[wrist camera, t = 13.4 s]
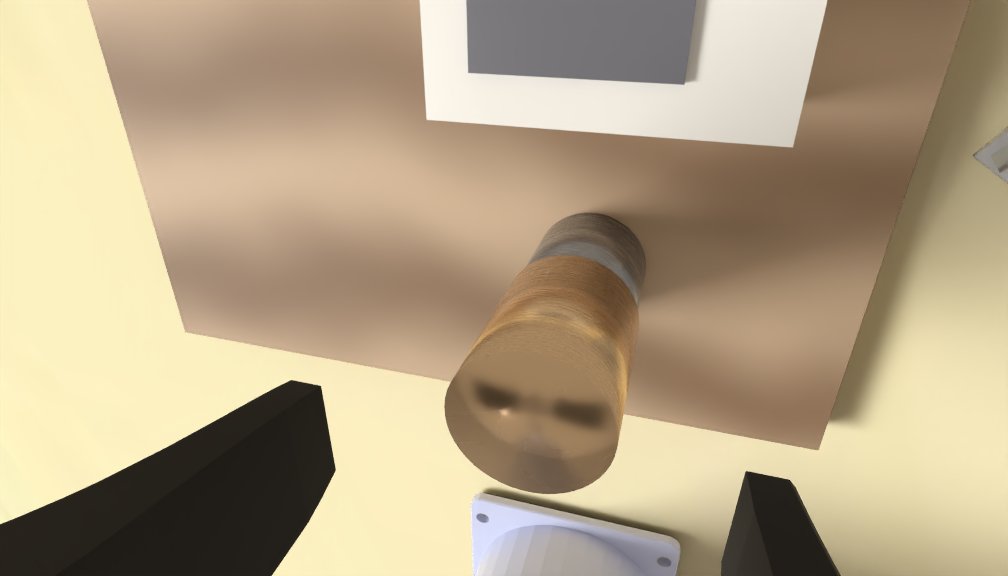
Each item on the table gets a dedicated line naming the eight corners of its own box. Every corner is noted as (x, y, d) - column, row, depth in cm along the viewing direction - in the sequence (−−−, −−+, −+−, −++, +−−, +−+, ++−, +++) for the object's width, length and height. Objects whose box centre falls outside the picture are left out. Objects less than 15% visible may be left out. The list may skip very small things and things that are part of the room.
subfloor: (812, 423, 19) (819, 453, 17) (207, 316, 24) (183, 333, 23) (1085, -425, 10) (1133, -472, 9) (40, -296, 15) (-11, -315, 14)
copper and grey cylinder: (639, 323, 17) (604, 511, 11) (530, 302, 18) (444, 469, 12) (659, 219, 16) (631, 374, 10) (539, 200, 16) (445, 334, 10)
